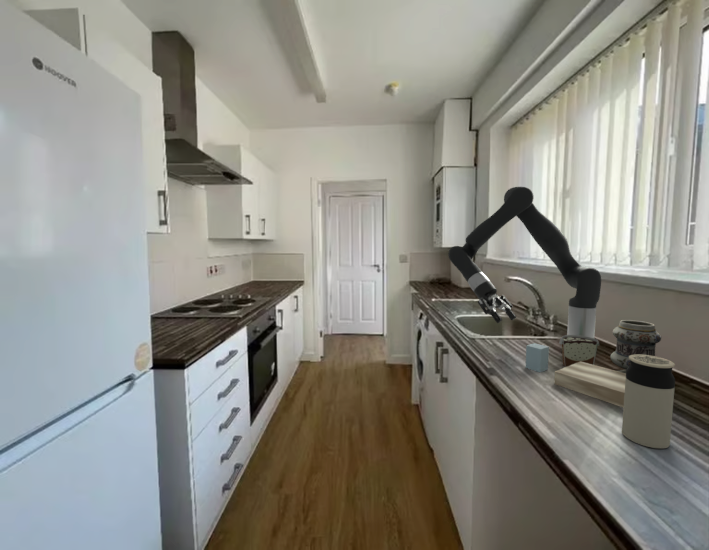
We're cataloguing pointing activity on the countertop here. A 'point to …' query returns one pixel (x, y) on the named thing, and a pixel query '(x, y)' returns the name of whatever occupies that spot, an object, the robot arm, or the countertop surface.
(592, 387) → the birch base
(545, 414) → the countertop surface
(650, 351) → the apothecary jar
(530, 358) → the blue-grey block
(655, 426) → the travel mug
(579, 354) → the food container
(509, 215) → the robot arm
